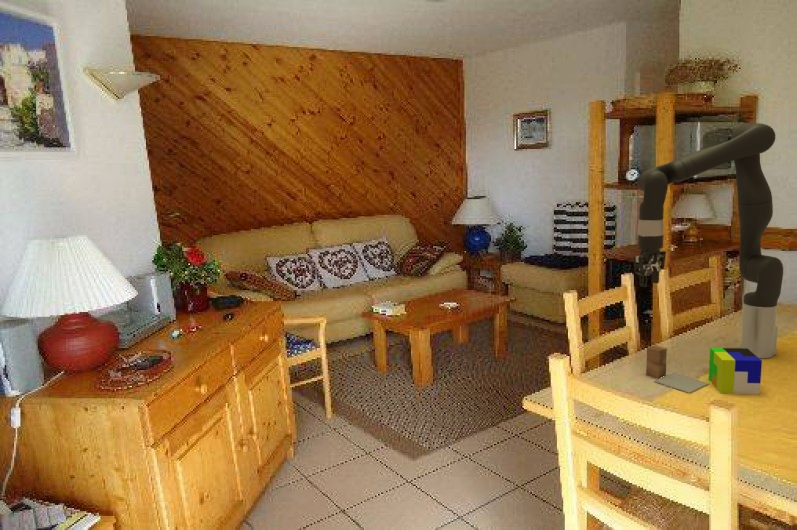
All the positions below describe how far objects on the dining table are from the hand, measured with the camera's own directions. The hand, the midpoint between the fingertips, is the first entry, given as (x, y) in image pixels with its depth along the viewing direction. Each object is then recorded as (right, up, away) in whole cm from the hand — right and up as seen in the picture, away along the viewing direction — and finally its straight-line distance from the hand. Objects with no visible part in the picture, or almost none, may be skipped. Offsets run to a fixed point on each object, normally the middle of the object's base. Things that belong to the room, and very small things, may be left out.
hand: (649, 284), depth 181 cm
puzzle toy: (+16, -29, -19) cm, 38 cm away
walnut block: (-2, -28, -9) cm, 29 cm away
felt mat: (+2, -29, -15) cm, 33 cm away
